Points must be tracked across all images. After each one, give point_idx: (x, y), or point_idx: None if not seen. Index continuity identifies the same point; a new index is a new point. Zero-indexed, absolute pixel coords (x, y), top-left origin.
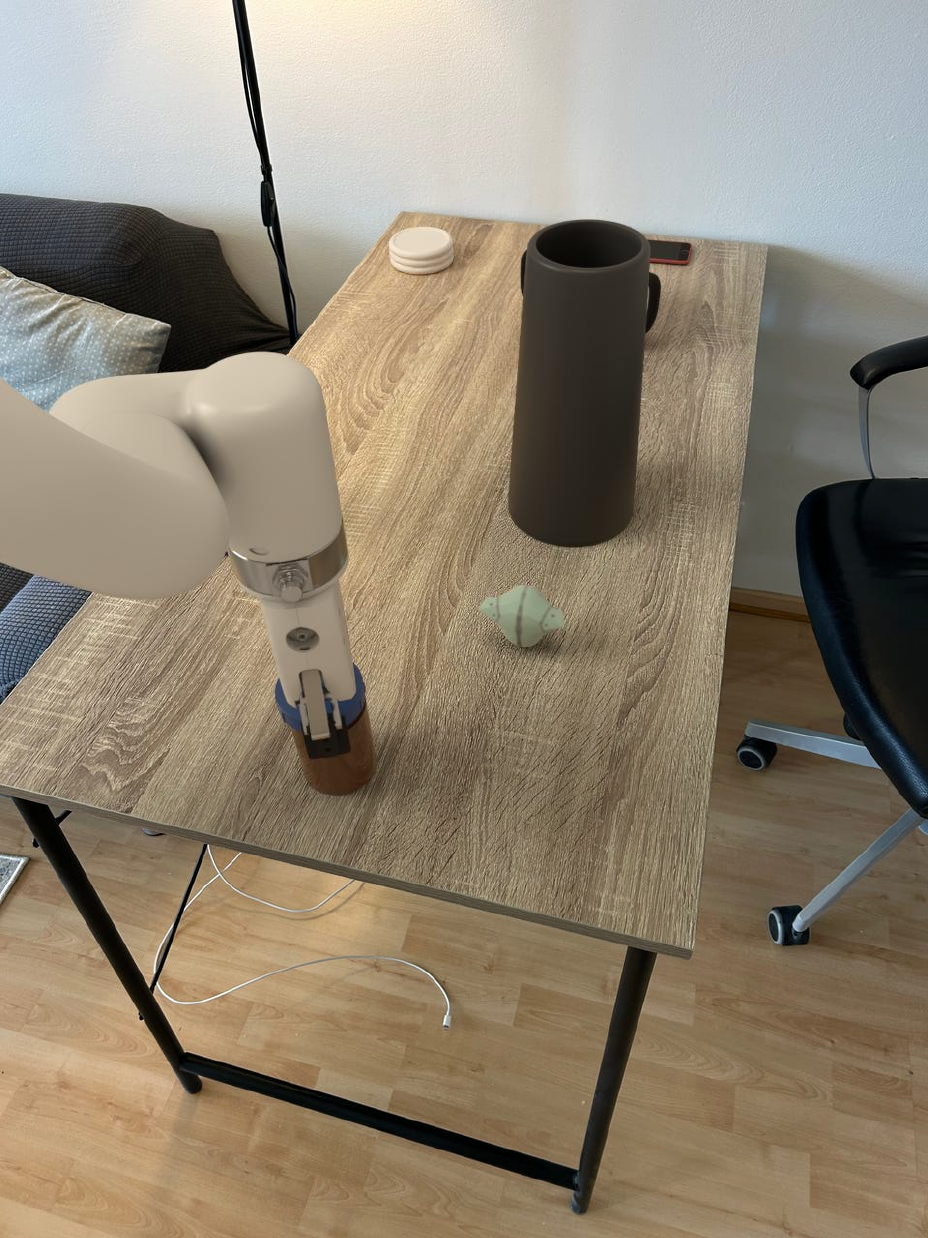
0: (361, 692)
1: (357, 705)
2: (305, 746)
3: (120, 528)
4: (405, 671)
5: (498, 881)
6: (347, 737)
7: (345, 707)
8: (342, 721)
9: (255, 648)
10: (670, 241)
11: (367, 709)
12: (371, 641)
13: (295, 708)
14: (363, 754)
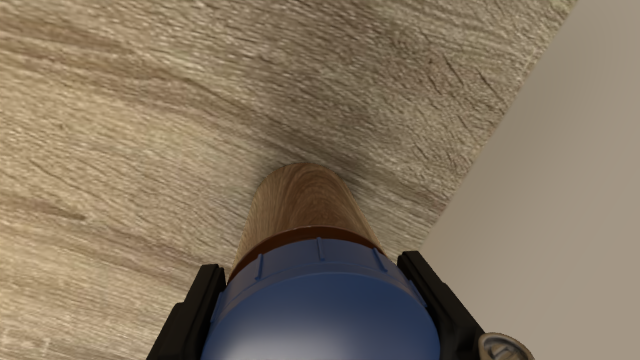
0: (371, 274)
1: (396, 277)
2: None
3: None
4: (124, 95)
5: (541, 17)
6: (439, 279)
7: (417, 317)
8: (473, 330)
9: (70, 318)
10: None
11: (322, 214)
12: (45, 148)
13: None
14: (352, 200)
